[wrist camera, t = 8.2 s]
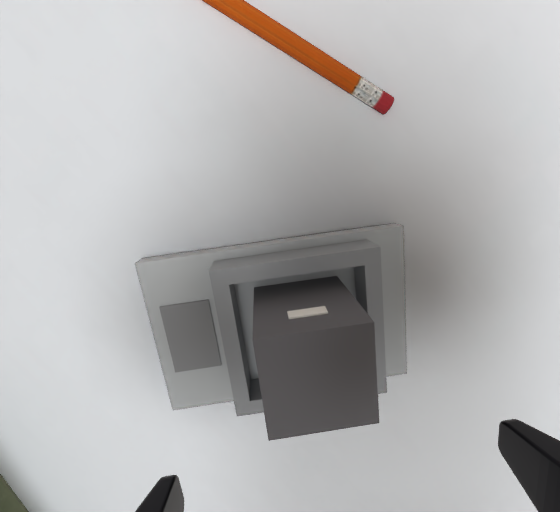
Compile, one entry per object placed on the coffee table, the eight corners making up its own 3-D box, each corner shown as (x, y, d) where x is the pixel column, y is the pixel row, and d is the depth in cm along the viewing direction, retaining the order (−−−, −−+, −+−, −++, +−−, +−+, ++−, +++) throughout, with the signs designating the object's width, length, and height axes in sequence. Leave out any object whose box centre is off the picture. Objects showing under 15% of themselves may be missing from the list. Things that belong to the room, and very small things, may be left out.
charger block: (342, 349, 18) (379, 423, 12) (265, 360, 18) (268, 440, 12) (336, 274, 17) (374, 320, 11) (253, 285, 16) (252, 338, 11)
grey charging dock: (399, 363, 19) (422, 394, 17) (176, 398, 19) (163, 435, 16) (394, 223, 17) (420, 231, 14) (141, 258, 17) (119, 274, 14)
